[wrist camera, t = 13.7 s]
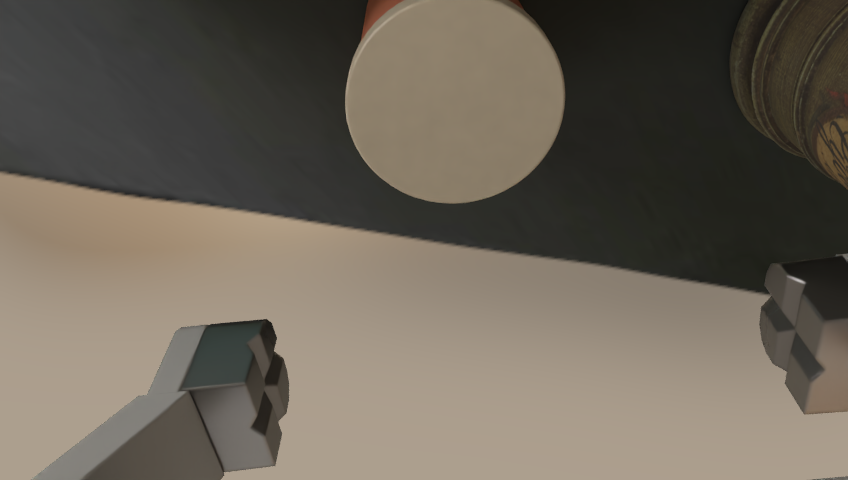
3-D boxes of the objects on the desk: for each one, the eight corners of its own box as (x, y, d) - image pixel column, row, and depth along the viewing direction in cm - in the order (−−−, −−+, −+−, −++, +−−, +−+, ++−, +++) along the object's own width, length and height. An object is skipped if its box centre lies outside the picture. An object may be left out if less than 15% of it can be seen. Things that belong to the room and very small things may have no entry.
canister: (517, -74, 27) (562, -22, 20) (527, 91, 31) (568, 190, 23) (346, -49, 28) (324, 12, 20) (375, 112, 31) (365, 216, 23)
